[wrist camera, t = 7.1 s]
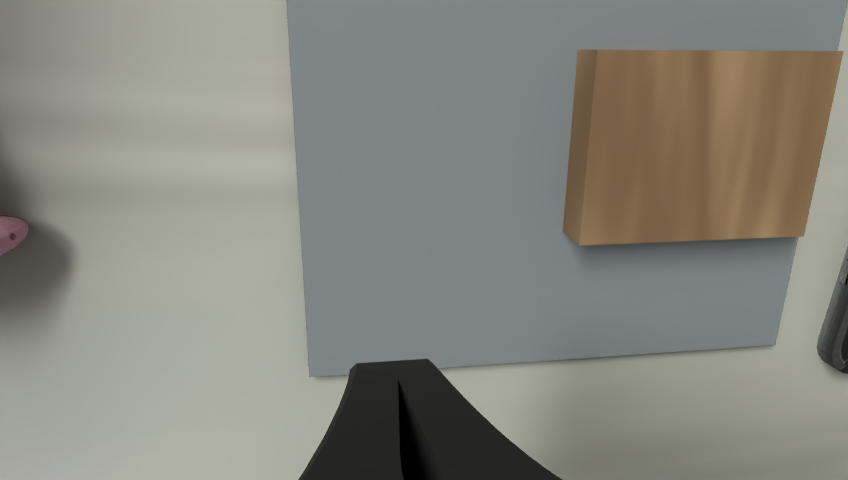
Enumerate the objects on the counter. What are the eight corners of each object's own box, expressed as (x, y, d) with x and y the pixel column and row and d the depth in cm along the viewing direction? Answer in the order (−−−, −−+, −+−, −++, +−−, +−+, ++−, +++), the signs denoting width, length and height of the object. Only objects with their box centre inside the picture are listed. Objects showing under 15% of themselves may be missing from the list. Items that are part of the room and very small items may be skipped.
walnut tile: (579, 245, 19) (803, 236, 20) (597, 49, 17) (843, 50, 18) (562, 231, 21) (772, 223, 22) (577, 49, 19) (807, 50, 20)
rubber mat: (309, 371, 21) (309, 377, 21) (278, -145, 16) (277, -149, 16) (768, 340, 24) (775, 344, 23) (862, -116, 19) (873, -119, 18)
